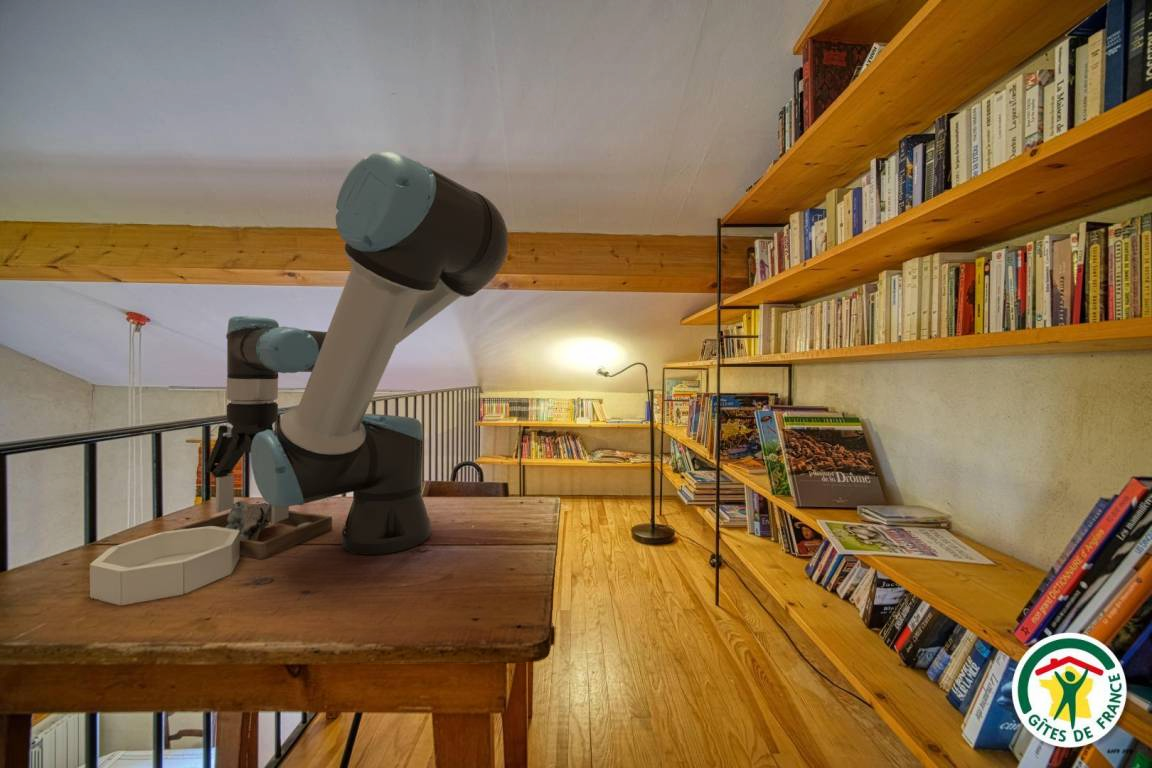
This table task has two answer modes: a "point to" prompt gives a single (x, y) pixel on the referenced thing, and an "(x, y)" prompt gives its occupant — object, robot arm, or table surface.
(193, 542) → the bowl
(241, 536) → the mineral specimen
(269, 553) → the frame
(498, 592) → the table surface
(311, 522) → the pebble
